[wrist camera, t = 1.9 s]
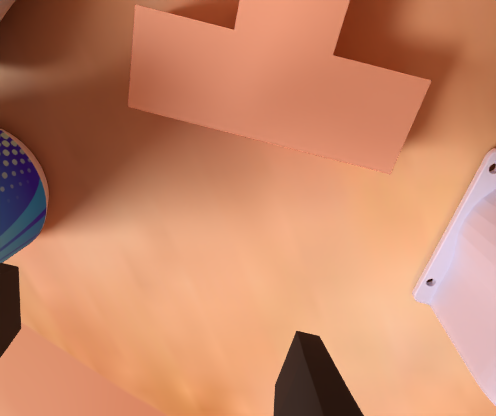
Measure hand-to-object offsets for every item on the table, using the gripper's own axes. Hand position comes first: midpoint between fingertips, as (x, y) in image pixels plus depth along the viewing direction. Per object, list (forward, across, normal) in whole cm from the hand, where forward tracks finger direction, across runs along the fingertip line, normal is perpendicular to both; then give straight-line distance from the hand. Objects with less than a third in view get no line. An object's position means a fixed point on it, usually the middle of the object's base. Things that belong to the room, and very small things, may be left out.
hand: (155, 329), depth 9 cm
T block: (+11, -2, -9) cm, 15 cm away
